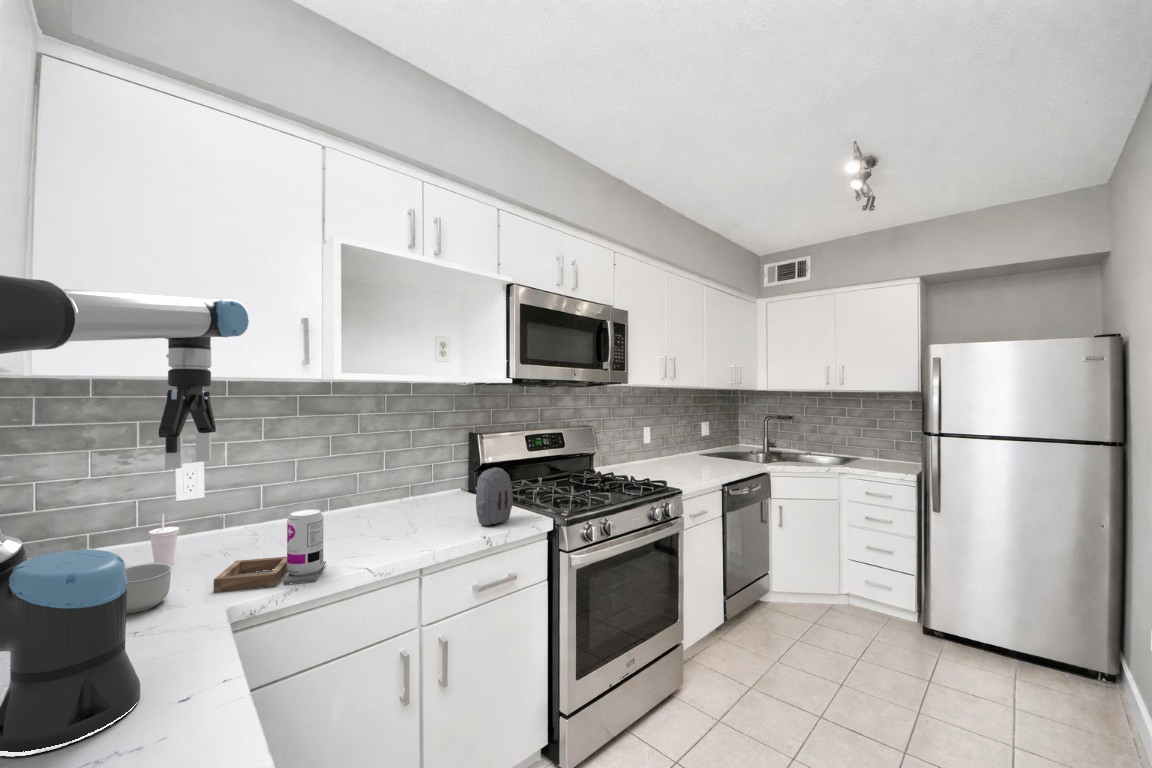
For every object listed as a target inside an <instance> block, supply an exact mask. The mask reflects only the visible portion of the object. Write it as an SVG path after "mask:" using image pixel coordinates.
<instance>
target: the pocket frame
mask: <svg viewBox="0 0 1152 768" xmlns="http://www.w3.org/2000/svg"><path fill="white" fill-rule="evenodd" d="M272 569H274V570H273V571H269V572H256V571H263V570H272ZM247 572H254V573H247ZM286 572H287V556H280V557H279V556H278V557H277V556H276V557H275V556H274V557H267V558H266V557H264V558H254V559H253V558H252V559H242V560H234V562H233V563H231V564H230V565H229V566H228V567H226V568H225V569H224V570H223V571H222V572H221V573H219V575H217V576H216V577H215V578H213V593H221V592H233V591H241V590H240V589H244V590H251V589H250V588H254V589H259V588H258V587H264V588H268V587H267V586H275V587H277V586H278V584H279V583H280V582H281V581H282V580H281V578H282V577H283V576H284V574H285V573H286ZM240 573H243V574H240ZM287 573H288V572H287ZM287 573H286V574H287ZM284 577H285V576H284ZM284 577H283V578H284ZM283 578H282V579H283ZM280 580H281V581H280ZM279 581H280V582H279ZM278 582H279V583H278ZM277 583H278V584H277ZM276 585H277V586H276Z"/></svg>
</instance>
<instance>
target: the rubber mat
mask: <svg viewBox="0 0 1152 768" xmlns="http://www.w3.org/2000/svg"><path fill="white" fill-rule="evenodd" d="M325 563H326V564H327V561H326V560H323V566H322V568H321V569H320V570H319V571H317V572H315V573H312V574H308V575H302V576H294V575H291V574H290V573H288V574H287V576H286V577H284V578H285V579H283V583H282V584H288V585H291V584H290V583H298V584H302V583H301V582H309V583H315V582H316V581H317V580H318V578H319V577H318V575H319V574H320V575H321V573H322V572H321V570H322V569H323V567H324V565H325ZM324 568H325V567H324ZM323 570H324V569H323ZM323 570H322V571H323ZM320 572H321V573H320ZM320 575H319V576H320ZM317 577H318V578H317ZM316 579H317V580H316Z"/></svg>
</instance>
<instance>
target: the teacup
mask: <svg viewBox="0 0 1152 768" xmlns="http://www.w3.org/2000/svg"><path fill="white" fill-rule="evenodd" d="M172 568H173V567H172V565H171V566H170V565H168V564H163V563H154V562H153V563H142V564H136V565H131V566H127V567H126V566H125V573H126V577H127V584H128V585H127V601H126V614H135V613H136V614H137V613H141V612H144V611H147V610H149V609H152V608H154V607H156V606H157V605H159V604H160V603H161V602H162V601H163V600H164V599H165V598H166V597H167V596H168V594H169V592H170V588H171V574H172V573H171V572H172Z"/></svg>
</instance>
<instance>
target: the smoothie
mask: <svg viewBox="0 0 1152 768" xmlns="http://www.w3.org/2000/svg"><path fill="white" fill-rule="evenodd" d="M179 532H180V527H179V526H165V514H164V513H162V514H161V528H155V529H151V530H150V531H148V537H149V538H150V544H151V551H152V557H153V563H163V564H168V565H170V566H171V567H172V566H173V565H174V560H175V553H176V547H177V540H178V533H179Z"/></svg>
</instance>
